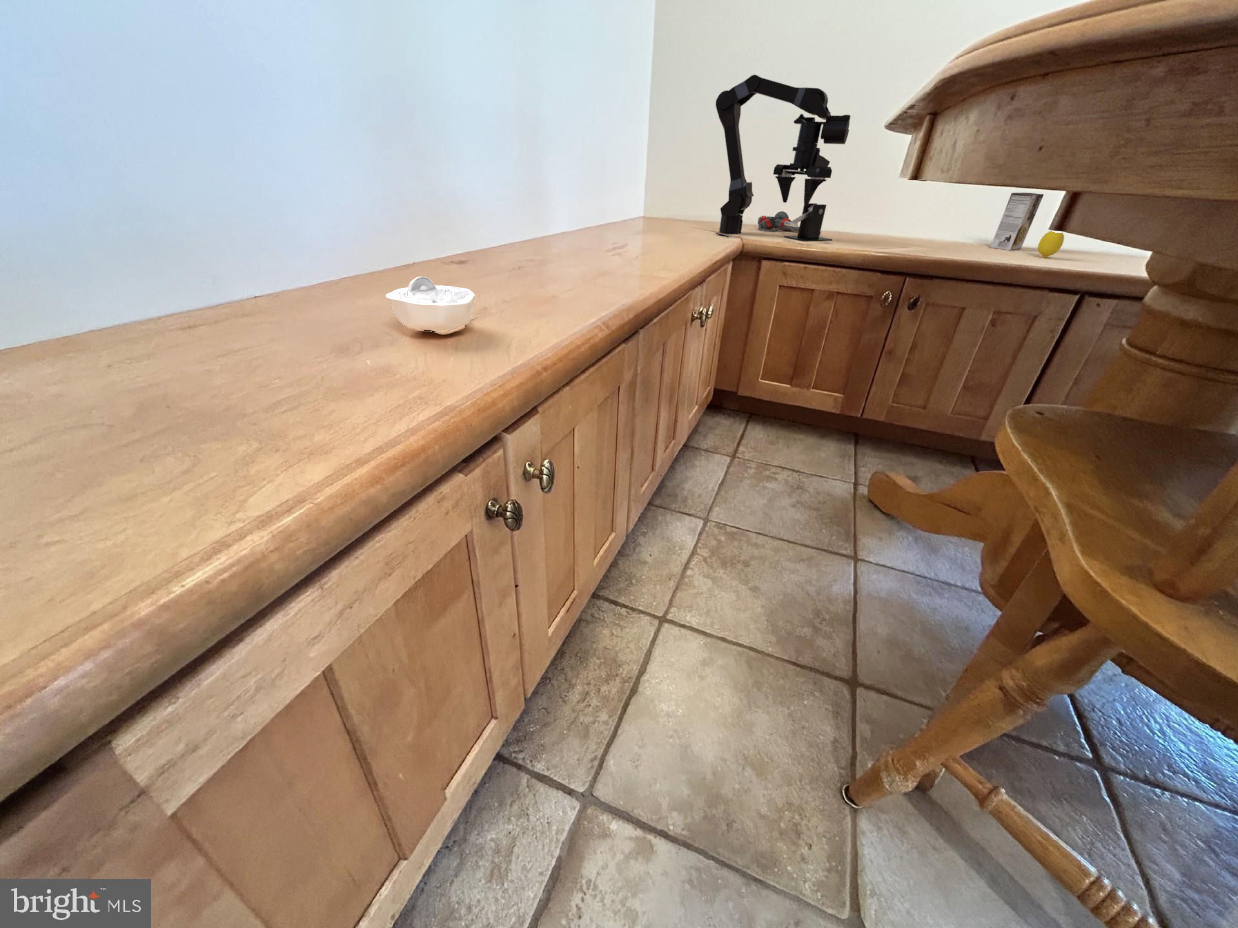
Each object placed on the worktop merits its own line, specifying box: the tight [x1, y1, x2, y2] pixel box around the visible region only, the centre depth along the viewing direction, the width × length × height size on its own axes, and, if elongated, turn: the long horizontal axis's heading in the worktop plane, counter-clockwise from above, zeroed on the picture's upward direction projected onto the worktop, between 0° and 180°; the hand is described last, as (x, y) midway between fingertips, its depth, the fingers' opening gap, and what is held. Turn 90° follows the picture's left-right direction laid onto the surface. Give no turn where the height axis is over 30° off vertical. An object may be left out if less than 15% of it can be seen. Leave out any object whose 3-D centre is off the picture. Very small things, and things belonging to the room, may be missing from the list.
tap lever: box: [784, 205, 813, 227], centre depth 155 cm, size 11×5×2 cm, turn 115°
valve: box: [757, 210, 822, 235], centre depth 175 cm, size 6×26×15 cm
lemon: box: [1037, 230, 1065, 259], centre depth 147 cm, size 6×6×8 cm
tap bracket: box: [783, 202, 833, 243], centre depth 157 cm, size 12×9×11 cm
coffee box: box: [989, 192, 1044, 251], centre depth 161 cm, size 9×6×16 cm
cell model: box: [385, 276, 476, 336], centre depth 65 cm, size 10×12×7 cm
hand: (795, 204), depth 152 cm, fingers open, 9 cm apart
